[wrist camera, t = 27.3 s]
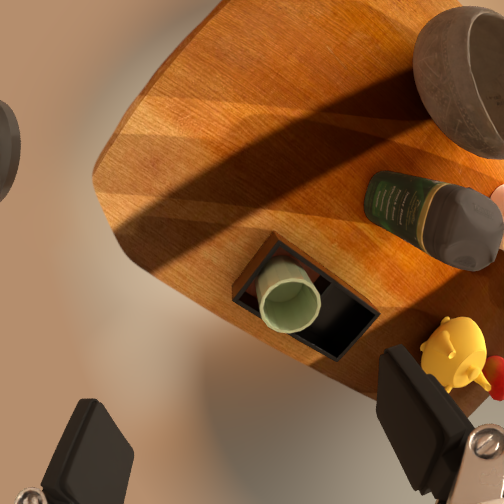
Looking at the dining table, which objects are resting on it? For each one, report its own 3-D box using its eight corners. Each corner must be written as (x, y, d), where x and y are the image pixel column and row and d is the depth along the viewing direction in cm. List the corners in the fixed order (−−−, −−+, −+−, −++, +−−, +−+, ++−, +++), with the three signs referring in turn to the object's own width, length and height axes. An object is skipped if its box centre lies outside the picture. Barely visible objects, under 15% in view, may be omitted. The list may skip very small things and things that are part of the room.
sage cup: (260, 307, 43) (266, 338, 35) (249, 261, 41) (254, 286, 33) (308, 296, 43) (323, 325, 35) (301, 250, 41) (317, 272, 33)
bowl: (502, 97, 36) (565, 95, 22) (456, 182, 40) (525, 199, 26) (425, 5, 31) (481, -27, 17) (363, 83, 35) (424, 57, 21)
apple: (467, 380, 54) (494, 411, 43) (484, 349, 52) (515, 379, 40) (488, 378, 55) (514, 405, 44) (504, 348, 53) (533, 375, 41)
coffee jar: (355, 220, 41) (433, 267, 23) (370, 163, 39) (459, 177, 21) (411, 235, 42) (495, 283, 25) (425, 184, 40) (518, 209, 22)
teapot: (382, 354, 48) (411, 396, 37) (439, 286, 45) (480, 318, 34) (435, 388, 53) (461, 422, 42) (481, 334, 50) (514, 363, 39)
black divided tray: (231, 285, 43) (231, 300, 38) (273, 230, 41) (278, 239, 36) (328, 345, 47) (337, 362, 42) (368, 299, 45) (380, 313, 40)
